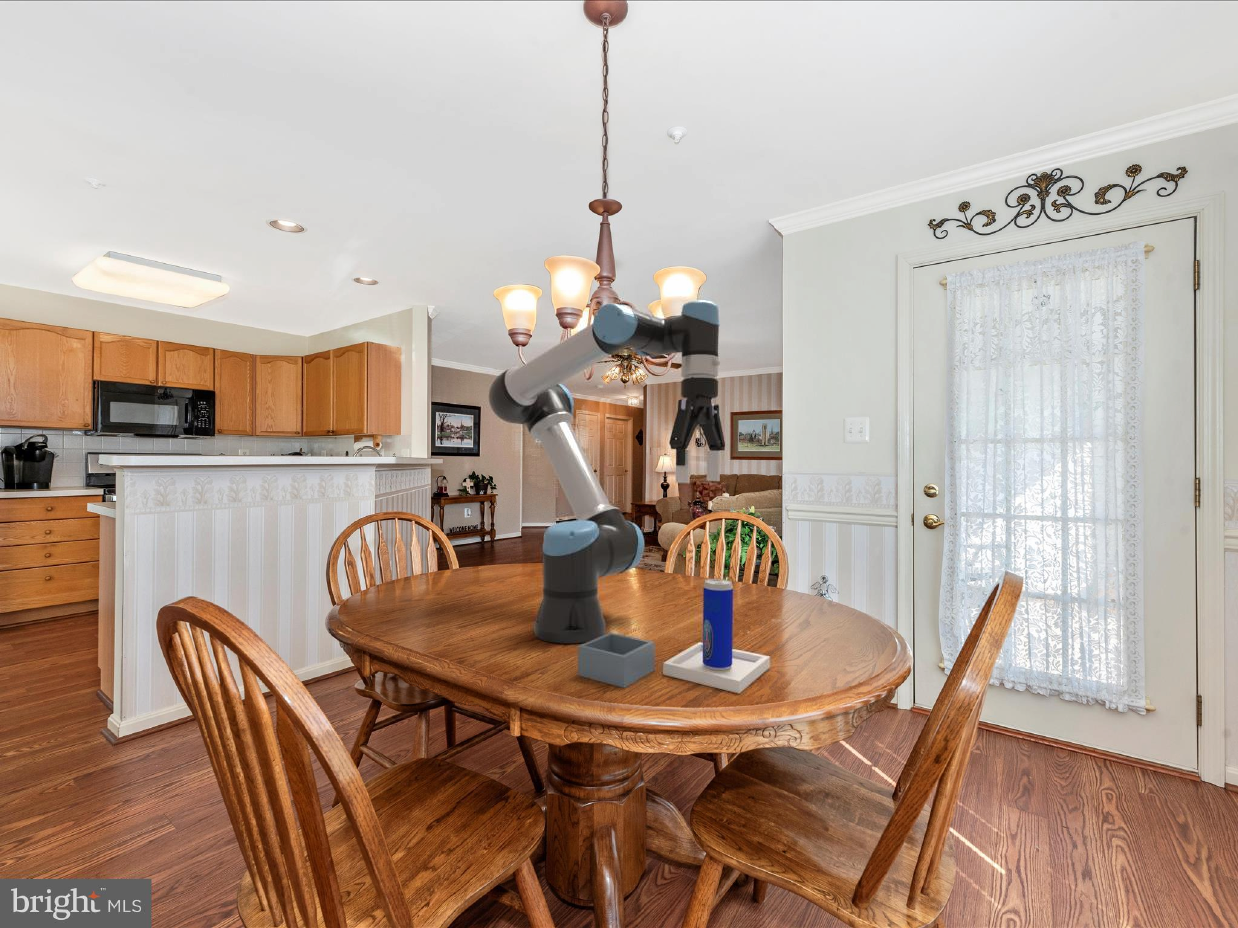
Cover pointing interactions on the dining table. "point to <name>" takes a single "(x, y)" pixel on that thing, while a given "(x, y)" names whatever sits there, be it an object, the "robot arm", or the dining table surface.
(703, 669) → the tray
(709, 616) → the beverage can
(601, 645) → the holder sleeve
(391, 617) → the dining table surface
